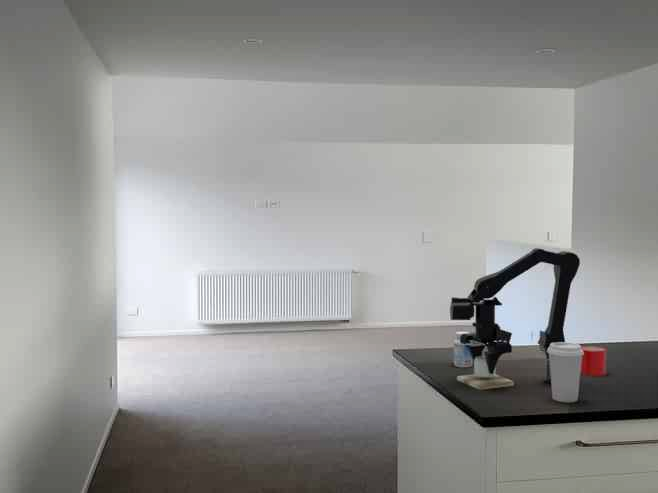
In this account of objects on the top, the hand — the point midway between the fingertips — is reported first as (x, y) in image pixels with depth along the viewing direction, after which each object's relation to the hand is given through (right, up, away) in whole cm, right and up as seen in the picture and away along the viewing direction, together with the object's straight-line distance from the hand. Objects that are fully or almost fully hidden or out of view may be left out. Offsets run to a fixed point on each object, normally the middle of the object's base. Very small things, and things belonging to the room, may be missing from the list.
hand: (485, 371), depth 196 cm
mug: (+35, -3, +12) cm, 37 cm away
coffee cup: (+18, -5, -18) cm, 25 cm away
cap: (0, -1, 0) cm, 1 cm away
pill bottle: (-2, -3, +22) cm, 22 cm away
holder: (0, -4, 0) cm, 4 cm away
